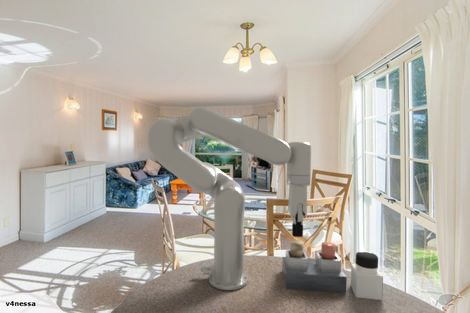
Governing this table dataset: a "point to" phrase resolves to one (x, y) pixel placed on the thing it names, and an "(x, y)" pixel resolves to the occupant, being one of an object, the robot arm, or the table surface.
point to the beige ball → (296, 248)
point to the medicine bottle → (366, 276)
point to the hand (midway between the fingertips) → (297, 235)
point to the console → (313, 273)
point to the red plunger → (328, 250)
